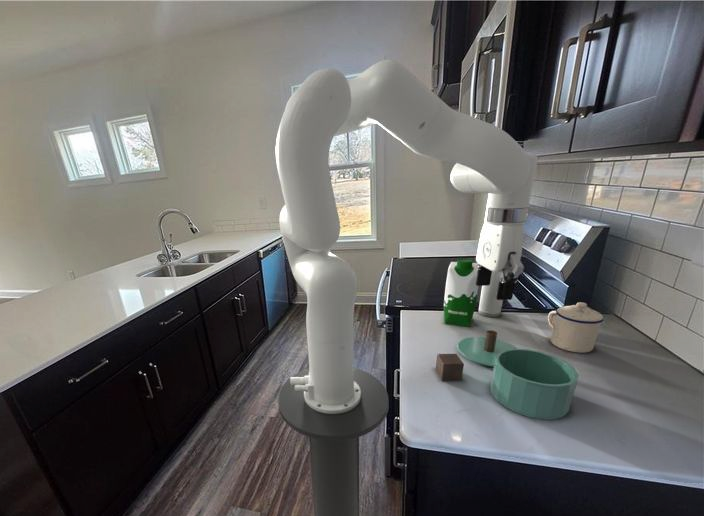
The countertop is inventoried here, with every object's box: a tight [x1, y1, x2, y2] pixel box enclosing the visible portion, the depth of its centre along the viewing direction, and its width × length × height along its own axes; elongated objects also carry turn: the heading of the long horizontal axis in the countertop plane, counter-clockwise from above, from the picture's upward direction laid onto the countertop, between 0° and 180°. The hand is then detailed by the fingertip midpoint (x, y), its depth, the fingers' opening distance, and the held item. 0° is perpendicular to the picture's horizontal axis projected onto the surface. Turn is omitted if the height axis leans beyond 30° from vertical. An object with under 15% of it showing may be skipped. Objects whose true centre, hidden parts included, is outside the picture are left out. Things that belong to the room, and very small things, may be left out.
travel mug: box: [477, 271, 509, 318], centre depth 99 cm, size 6×7×20 cm
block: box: [435, 353, 465, 382], centre depth 73 cm, size 4×4×4 cm
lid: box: [457, 329, 518, 368], centre depth 80 cm, size 14×14×6 cm
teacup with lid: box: [547, 301, 604, 354], centre depth 81 cm, size 12×9×12 cm
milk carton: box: [443, 258, 480, 328], centre depth 96 cm, size 9×9×20 cm
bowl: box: [490, 348, 580, 421], centre depth 64 cm, size 13×13×8 cm
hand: (492, 291), depth 73 cm, fingers open, 9 cm apart
